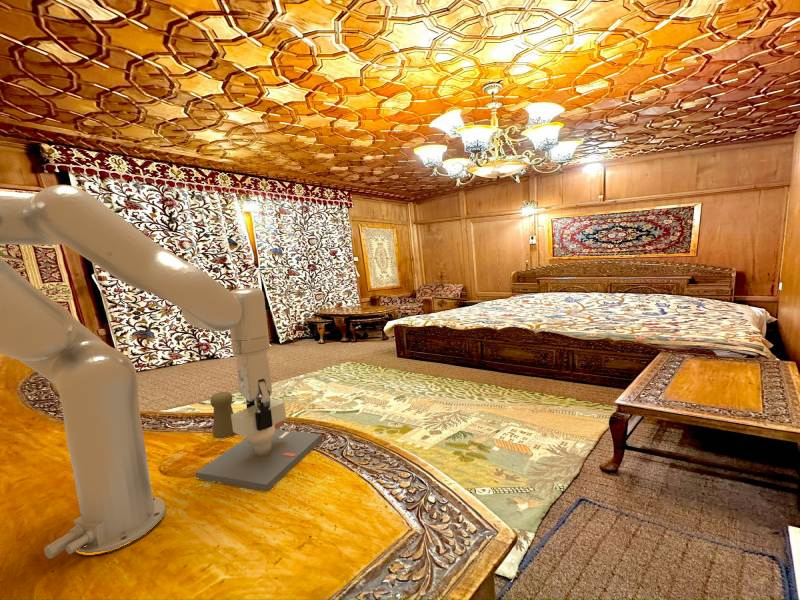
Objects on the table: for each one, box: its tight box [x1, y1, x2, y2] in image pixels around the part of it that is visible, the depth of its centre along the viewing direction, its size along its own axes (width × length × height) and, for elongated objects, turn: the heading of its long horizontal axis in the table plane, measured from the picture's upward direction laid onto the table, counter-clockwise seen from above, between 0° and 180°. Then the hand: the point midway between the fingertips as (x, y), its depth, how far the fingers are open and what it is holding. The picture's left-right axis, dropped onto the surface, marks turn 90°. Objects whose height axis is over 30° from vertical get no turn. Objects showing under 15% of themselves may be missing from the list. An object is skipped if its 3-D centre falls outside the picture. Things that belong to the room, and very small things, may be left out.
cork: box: [210, 391, 236, 439], centre depth 94 cm, size 6×6×11 cm
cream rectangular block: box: [231, 397, 287, 445], centre depth 80 cm, size 10×6×7 cm, turn 143°
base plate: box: [195, 428, 323, 493], centre depth 80 cm, size 20×18×4 cm
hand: (260, 422), depth 80 cm, fingers closed on cream rectangular block, 6 cm apart
